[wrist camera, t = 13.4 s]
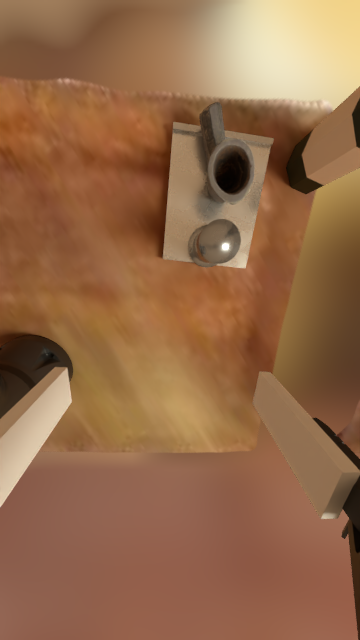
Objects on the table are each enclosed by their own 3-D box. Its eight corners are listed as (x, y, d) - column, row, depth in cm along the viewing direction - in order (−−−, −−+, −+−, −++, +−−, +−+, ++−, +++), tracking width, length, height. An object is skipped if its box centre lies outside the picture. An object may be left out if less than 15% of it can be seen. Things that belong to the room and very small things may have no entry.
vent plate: (162, 262, 36) (158, 263, 26) (173, 129, 30) (173, 58, 20) (242, 271, 37) (270, 275, 27) (268, 144, 31) (317, 85, 21)
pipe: (224, 114, 28) (241, 67, 21) (240, 206, 33) (259, 195, 25) (185, 129, 29) (189, 89, 21) (207, 218, 33) (216, 211, 26)
